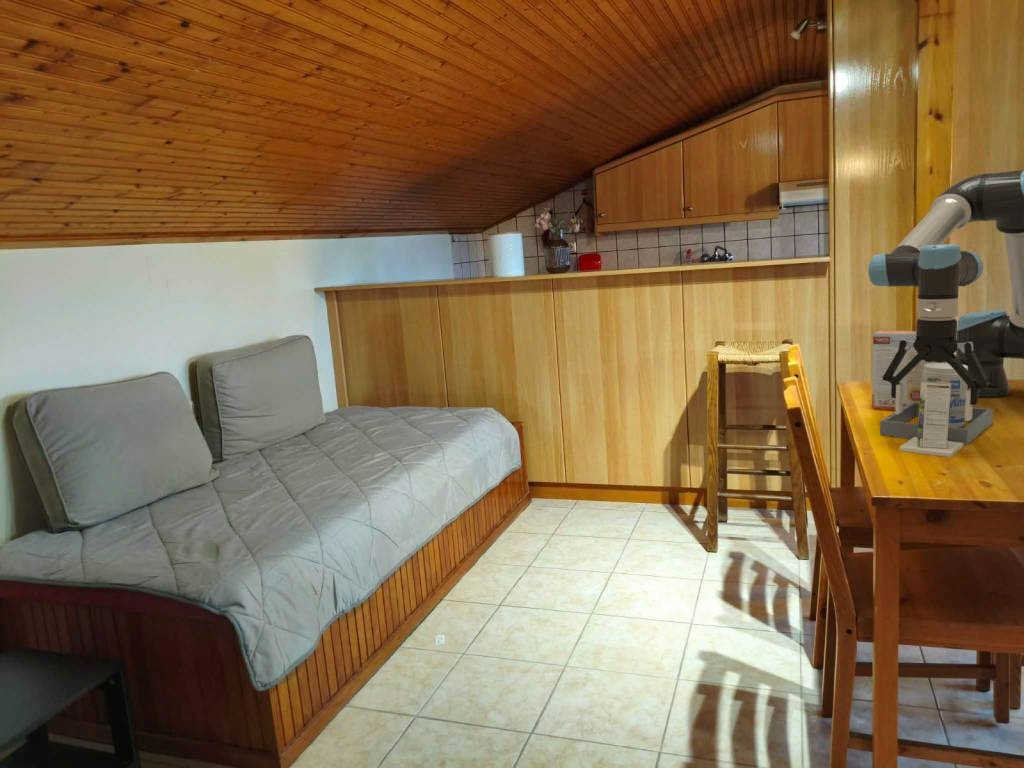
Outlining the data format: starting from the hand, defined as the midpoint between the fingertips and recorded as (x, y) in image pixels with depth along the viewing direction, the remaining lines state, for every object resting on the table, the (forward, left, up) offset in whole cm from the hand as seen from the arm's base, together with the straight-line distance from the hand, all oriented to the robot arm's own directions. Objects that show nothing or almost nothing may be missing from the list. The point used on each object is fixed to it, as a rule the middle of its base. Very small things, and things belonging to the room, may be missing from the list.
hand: (932, 416), depth 166 cm
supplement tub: (-23, -4, -8) cm, 24 cm away
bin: (-18, -4, -7) cm, 20 cm away
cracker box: (-36, -16, -8) cm, 40 cm away
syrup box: (0, 0, -7) cm, 7 cm away
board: (0, 0, -7) cm, 7 cm away
